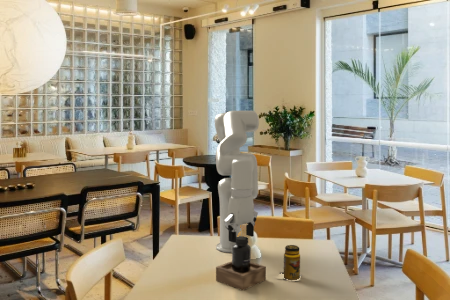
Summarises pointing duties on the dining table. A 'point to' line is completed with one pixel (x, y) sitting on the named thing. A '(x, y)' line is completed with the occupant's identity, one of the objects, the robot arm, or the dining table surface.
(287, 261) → the condiment
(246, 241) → the supplement bottle
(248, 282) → the walnut tray
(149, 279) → the dining table surface
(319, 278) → the dining table surface
